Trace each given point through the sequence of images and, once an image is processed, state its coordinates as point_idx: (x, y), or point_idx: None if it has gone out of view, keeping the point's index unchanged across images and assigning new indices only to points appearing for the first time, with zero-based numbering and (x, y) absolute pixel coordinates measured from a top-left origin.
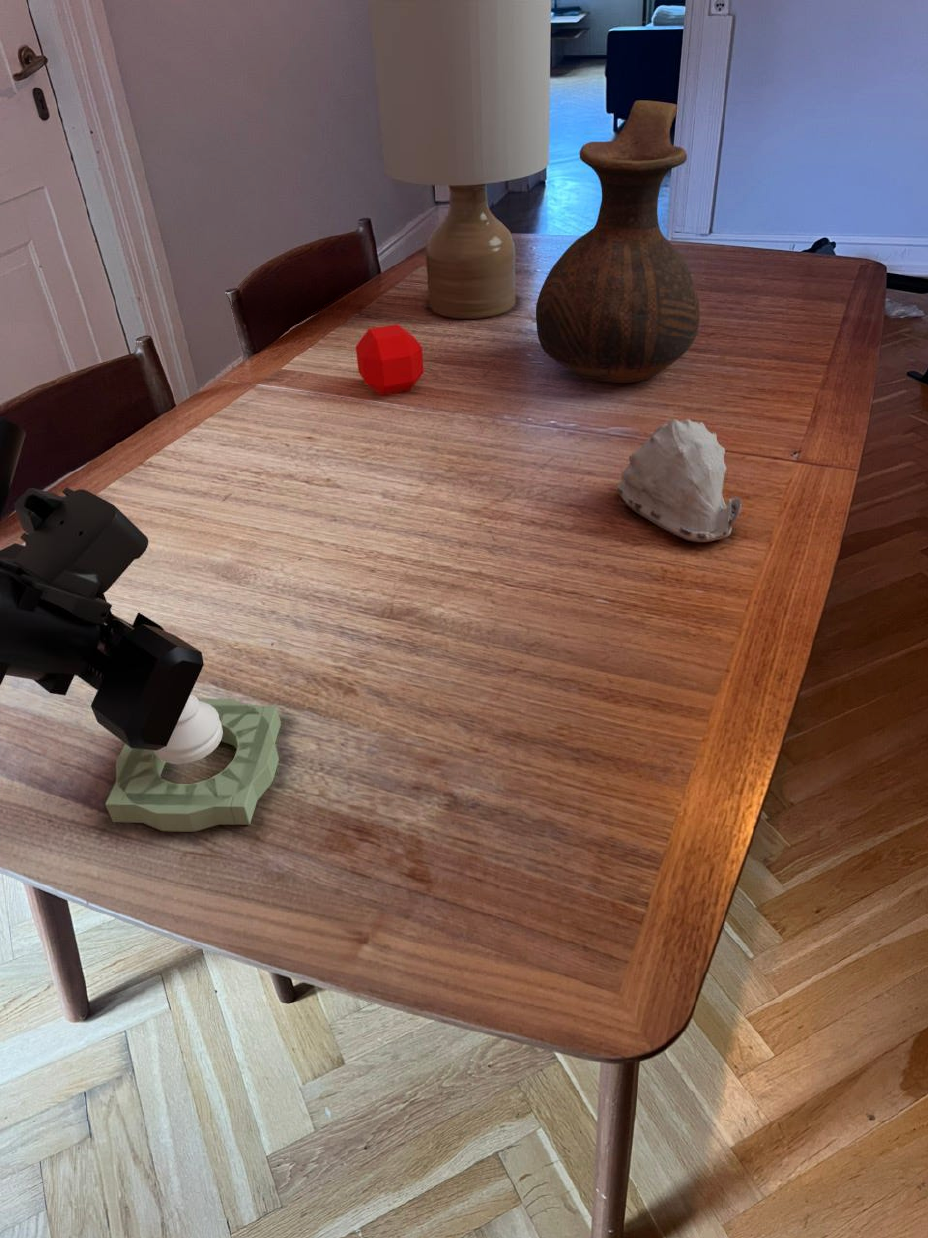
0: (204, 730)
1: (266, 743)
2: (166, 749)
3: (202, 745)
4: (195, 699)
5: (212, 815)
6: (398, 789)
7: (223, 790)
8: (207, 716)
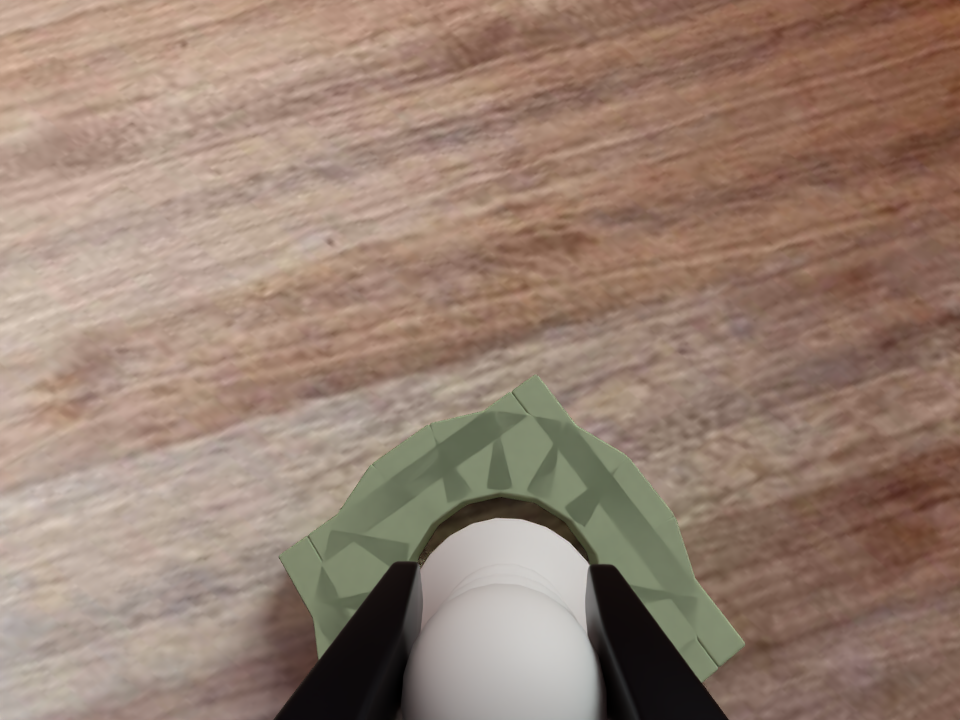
0: None
1: (618, 471)
2: None
3: None
4: (527, 577)
5: None
6: (865, 368)
7: None
8: (563, 572)
